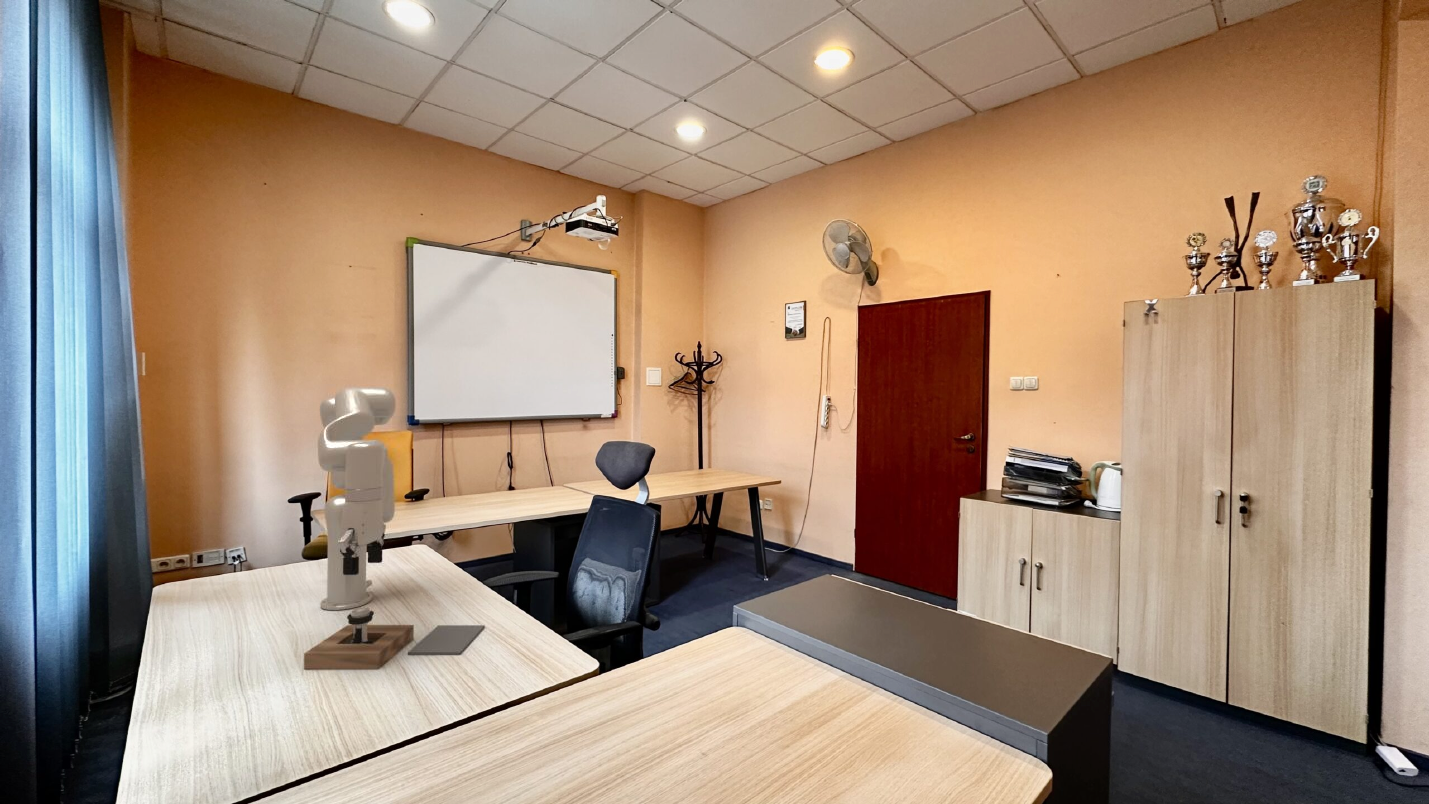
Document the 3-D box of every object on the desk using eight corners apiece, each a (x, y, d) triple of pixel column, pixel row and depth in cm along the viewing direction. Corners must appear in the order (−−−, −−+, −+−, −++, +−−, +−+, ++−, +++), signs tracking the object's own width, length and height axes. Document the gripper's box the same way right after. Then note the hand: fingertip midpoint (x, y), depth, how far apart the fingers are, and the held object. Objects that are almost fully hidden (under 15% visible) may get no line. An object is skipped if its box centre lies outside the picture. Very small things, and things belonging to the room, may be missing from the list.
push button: (382, 651, 135) (382, 609, 135) (360, 660, 130) (360, 616, 130) (363, 646, 138) (364, 604, 138) (341, 655, 133) (342, 612, 133)
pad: (438, 627, 149) (438, 625, 149) (484, 627, 150) (484, 625, 150) (407, 654, 133) (407, 652, 133) (459, 654, 134) (460, 652, 134)
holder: (347, 638, 142) (347, 624, 142) (413, 638, 142) (413, 624, 142) (303, 669, 126) (304, 653, 126) (378, 669, 126) (378, 653, 126)
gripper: (368, 489, 142) (367, 558, 142) (324, 501, 125) (323, 579, 125) (399, 489, 143) (398, 558, 143) (359, 501, 125) (358, 579, 125)
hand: (363, 568), depth 134 cm, fingers open, 9 cm apart
